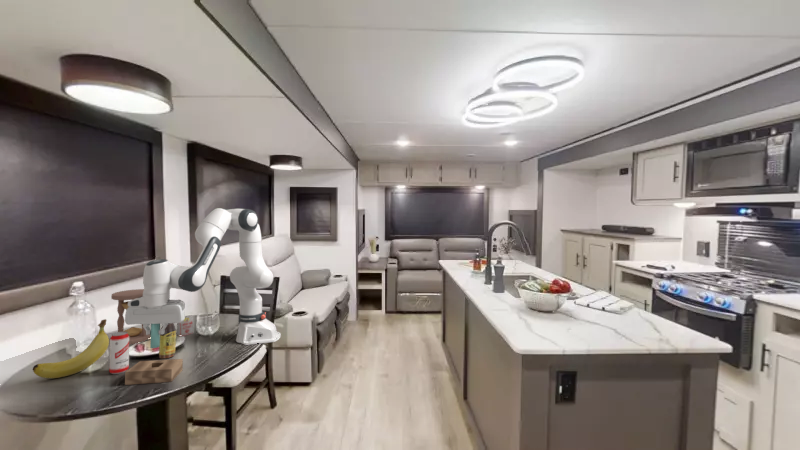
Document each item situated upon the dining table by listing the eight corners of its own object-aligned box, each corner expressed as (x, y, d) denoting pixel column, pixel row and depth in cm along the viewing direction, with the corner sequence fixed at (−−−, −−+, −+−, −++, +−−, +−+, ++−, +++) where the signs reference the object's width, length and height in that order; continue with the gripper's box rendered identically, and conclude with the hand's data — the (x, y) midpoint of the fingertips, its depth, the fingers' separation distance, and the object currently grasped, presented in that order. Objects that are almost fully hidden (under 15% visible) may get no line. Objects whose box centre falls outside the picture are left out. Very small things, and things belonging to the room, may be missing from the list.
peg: (161, 345, 136) (161, 321, 136) (157, 348, 133) (157, 323, 133) (152, 345, 135) (153, 321, 135) (148, 348, 132) (149, 323, 132)
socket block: (182, 370, 141) (182, 358, 141) (171, 381, 131) (171, 369, 131) (139, 373, 138) (139, 361, 138) (124, 384, 128) (125, 371, 128)
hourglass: (101, 343, 169) (102, 294, 169) (136, 332, 186) (136, 288, 186) (128, 347, 165) (129, 297, 165) (161, 335, 182) (162, 290, 182)
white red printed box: (176, 335, 183) (177, 317, 183) (189, 332, 189) (190, 314, 189) (180, 336, 181) (180, 318, 181) (193, 333, 187) (193, 315, 187)
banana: (34, 386, 125) (35, 333, 125) (30, 382, 128) (31, 330, 128) (110, 365, 144) (111, 319, 144) (105, 362, 147) (106, 317, 147)
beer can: (132, 369, 141) (133, 332, 141) (115, 376, 135) (116, 336, 135) (122, 367, 143) (123, 330, 143) (105, 373, 137) (106, 334, 137)
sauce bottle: (166, 360, 151) (167, 316, 151) (155, 358, 152) (156, 315, 152) (179, 354, 158) (179, 312, 157) (168, 353, 159) (168, 311, 159)
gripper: (188, 297, 139) (187, 330, 139) (132, 298, 135) (131, 332, 135) (181, 301, 133) (180, 335, 133) (122, 302, 129) (121, 338, 129)
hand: (155, 334), depth 134 cm, fingers closed on peg, 3 cm apart
